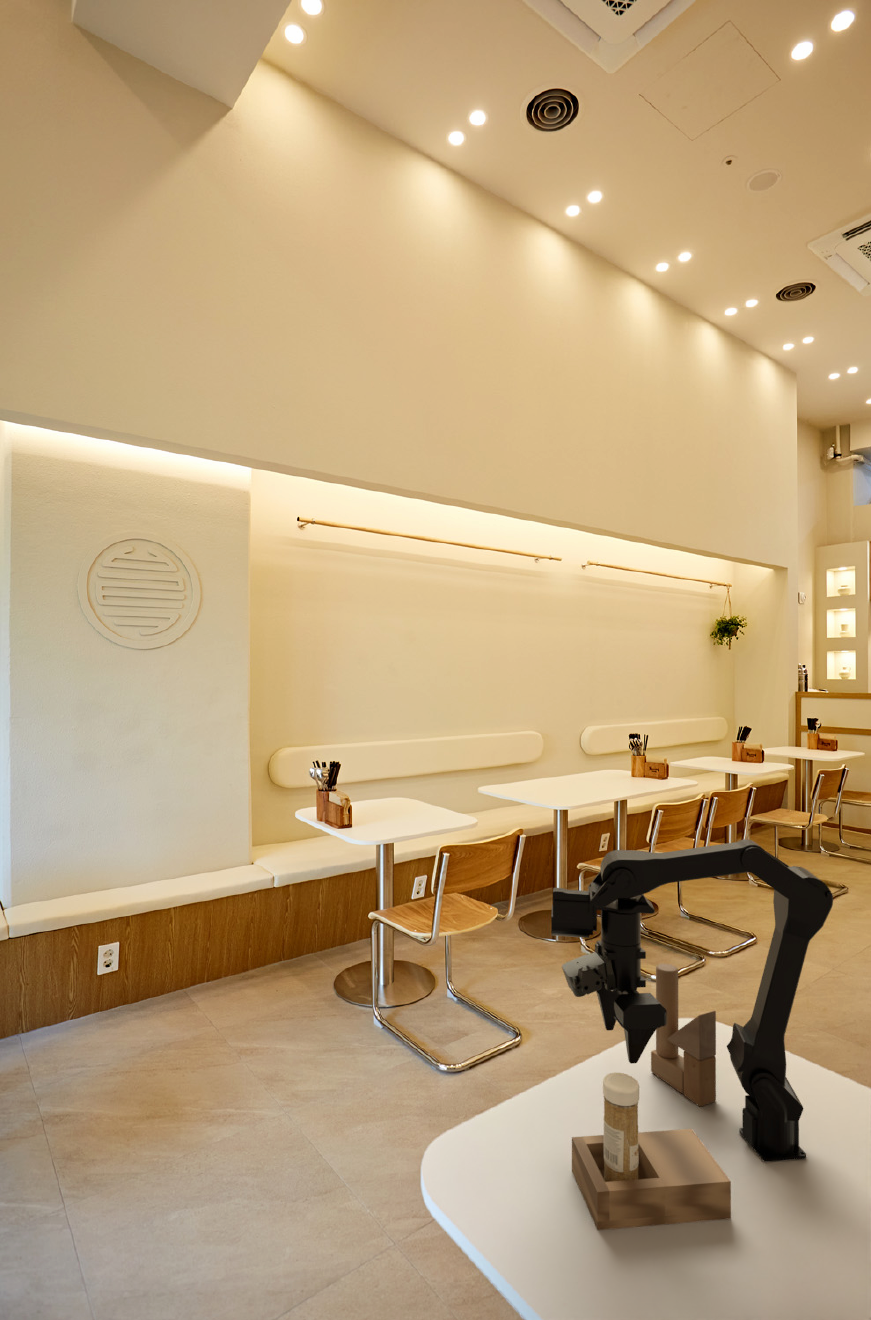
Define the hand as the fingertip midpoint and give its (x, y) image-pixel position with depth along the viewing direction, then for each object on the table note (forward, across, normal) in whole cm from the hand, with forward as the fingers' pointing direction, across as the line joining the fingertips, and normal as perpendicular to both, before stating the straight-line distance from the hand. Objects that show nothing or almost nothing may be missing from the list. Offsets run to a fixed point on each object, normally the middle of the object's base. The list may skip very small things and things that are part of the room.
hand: (620, 1045), depth 103 cm
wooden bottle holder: (+12, +13, -2) cm, 18 cm away
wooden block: (+12, -9, +14) cm, 21 cm away
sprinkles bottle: (+11, +13, -5) cm, 18 cm away
